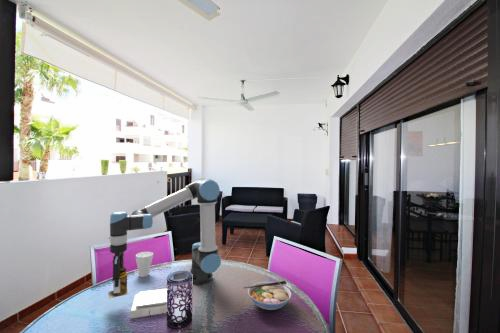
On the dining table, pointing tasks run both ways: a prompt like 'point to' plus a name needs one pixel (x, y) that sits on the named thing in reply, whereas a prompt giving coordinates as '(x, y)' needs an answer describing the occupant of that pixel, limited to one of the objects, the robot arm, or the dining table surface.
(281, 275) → the dining table surface
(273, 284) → the ramen bowl
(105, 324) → the dining table surface
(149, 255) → the cup
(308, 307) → the dining table surface
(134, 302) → the base
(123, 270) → the condiment
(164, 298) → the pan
